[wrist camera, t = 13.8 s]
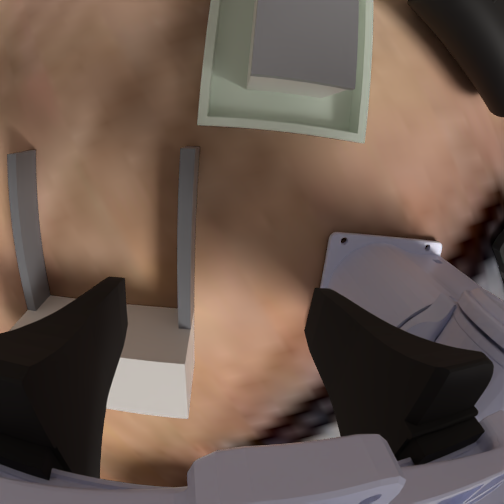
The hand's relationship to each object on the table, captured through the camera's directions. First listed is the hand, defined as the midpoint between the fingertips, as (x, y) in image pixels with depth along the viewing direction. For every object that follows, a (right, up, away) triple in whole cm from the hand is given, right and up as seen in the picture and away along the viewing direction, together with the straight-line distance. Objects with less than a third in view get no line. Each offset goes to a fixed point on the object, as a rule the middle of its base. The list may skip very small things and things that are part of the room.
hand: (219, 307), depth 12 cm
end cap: (+17, +18, +5) cm, 25 cm away
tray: (+3, +16, +4) cm, 17 cm away
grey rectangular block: (+3, +16, +4) cm, 16 cm away
